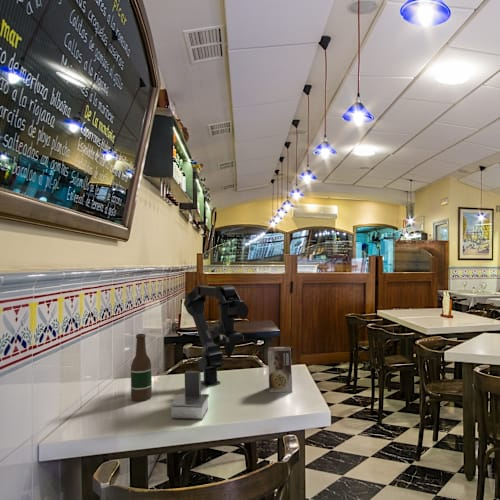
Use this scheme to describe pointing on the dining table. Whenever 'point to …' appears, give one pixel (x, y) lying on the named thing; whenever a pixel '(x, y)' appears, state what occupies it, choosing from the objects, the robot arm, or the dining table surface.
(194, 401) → the lid
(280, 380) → the grey printed box
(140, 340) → the beer bottle
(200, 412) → the white flat block
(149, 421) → the dining table surface
